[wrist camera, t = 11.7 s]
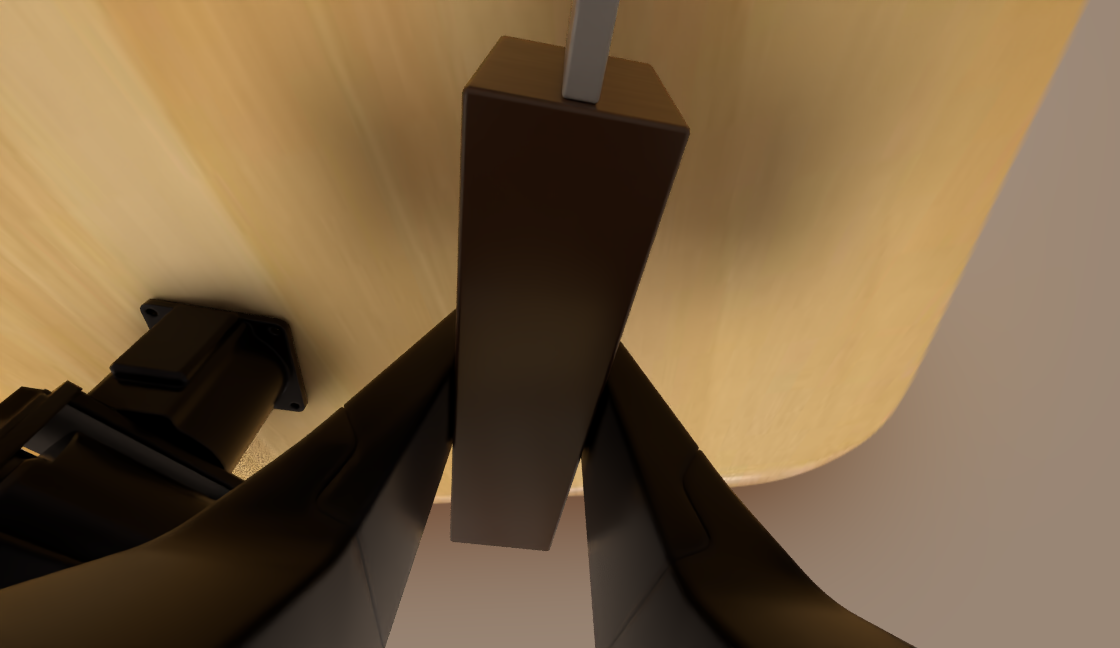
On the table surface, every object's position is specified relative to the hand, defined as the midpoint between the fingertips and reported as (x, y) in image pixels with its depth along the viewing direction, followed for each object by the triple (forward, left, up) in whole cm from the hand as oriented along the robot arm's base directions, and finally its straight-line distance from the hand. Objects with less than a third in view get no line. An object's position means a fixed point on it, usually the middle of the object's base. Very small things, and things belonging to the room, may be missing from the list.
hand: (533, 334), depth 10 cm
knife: (+5, 0, -1) cm, 5 cm away
